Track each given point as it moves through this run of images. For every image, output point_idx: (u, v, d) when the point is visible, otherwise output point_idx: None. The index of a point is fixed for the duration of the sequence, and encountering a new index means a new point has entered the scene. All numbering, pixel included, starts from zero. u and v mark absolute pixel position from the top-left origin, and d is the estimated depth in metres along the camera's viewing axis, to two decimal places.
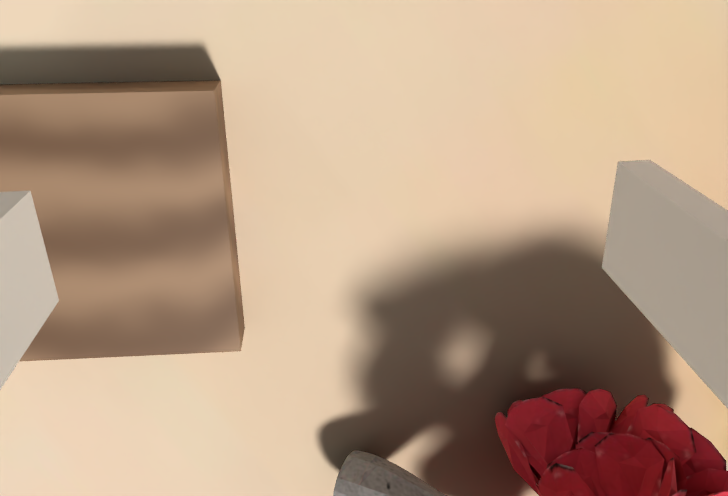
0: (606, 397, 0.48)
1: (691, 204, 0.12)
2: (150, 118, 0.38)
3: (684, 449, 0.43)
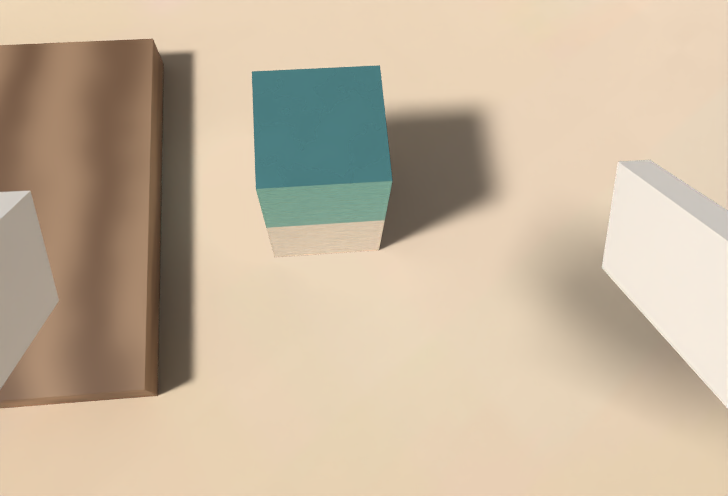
0: None
1: (691, 204, 0.12)
2: (119, 326, 0.39)
3: None
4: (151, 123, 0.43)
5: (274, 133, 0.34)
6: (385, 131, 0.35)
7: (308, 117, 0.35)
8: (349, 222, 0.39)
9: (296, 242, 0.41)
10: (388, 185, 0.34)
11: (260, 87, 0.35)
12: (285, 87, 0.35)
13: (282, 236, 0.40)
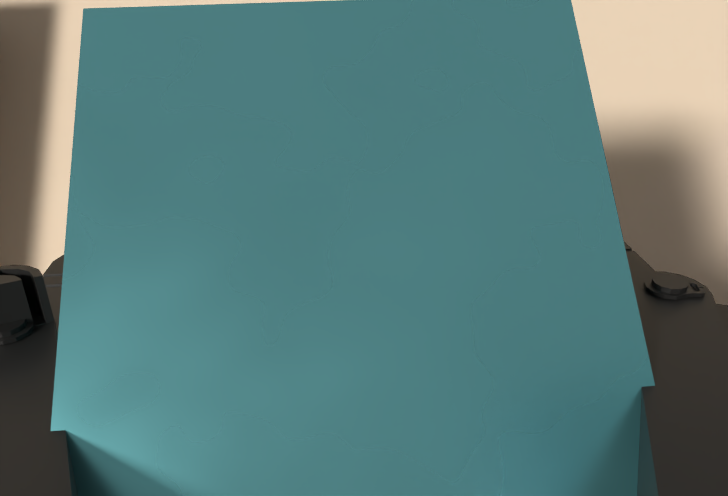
0: None
1: None
2: None
3: None
4: None
5: (152, 267, 0.08)
6: (620, 256, 0.08)
7: (300, 195, 0.08)
8: None
9: None
10: None
11: (110, 68, 0.09)
12: (210, 70, 0.09)
13: None
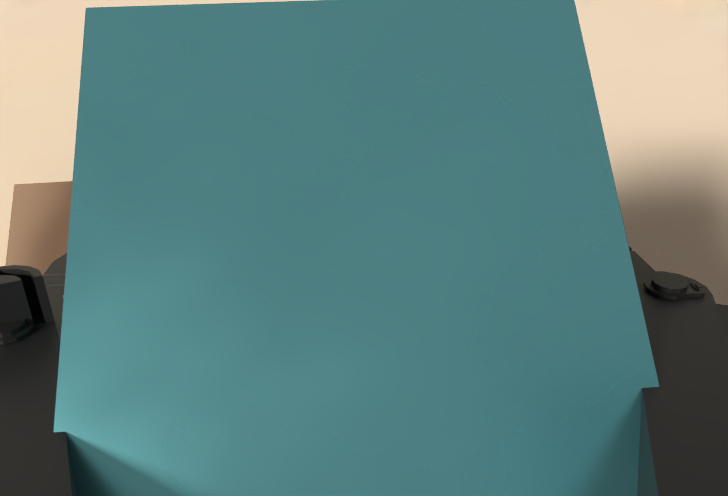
0: None
1: None
2: None
3: None
4: None
5: (155, 268, 0.08)
6: (623, 256, 0.08)
7: (303, 194, 0.08)
8: None
9: None
10: None
11: (112, 67, 0.09)
12: (213, 70, 0.09)
13: None
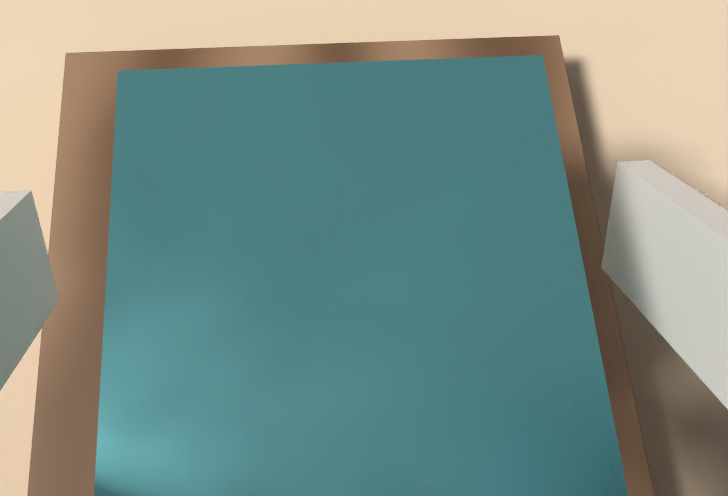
0: None
1: (690, 204, 0.12)
2: None
3: None
4: None
5: (180, 300, 0.09)
6: (582, 290, 0.10)
7: (306, 236, 0.10)
8: None
9: None
10: None
11: (142, 124, 0.10)
12: (228, 126, 0.10)
13: None
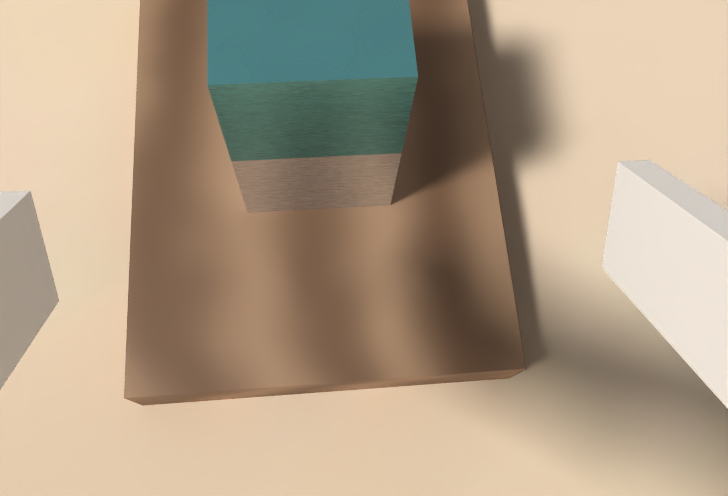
0: None
1: (691, 204, 0.12)
2: (481, 290, 0.31)
3: None
4: None
5: (238, 6, 0.23)
6: (407, 6, 0.23)
7: None
8: (351, 155, 0.27)
9: (276, 188, 0.29)
10: (411, 85, 0.23)
11: None
12: None
13: (256, 177, 0.28)
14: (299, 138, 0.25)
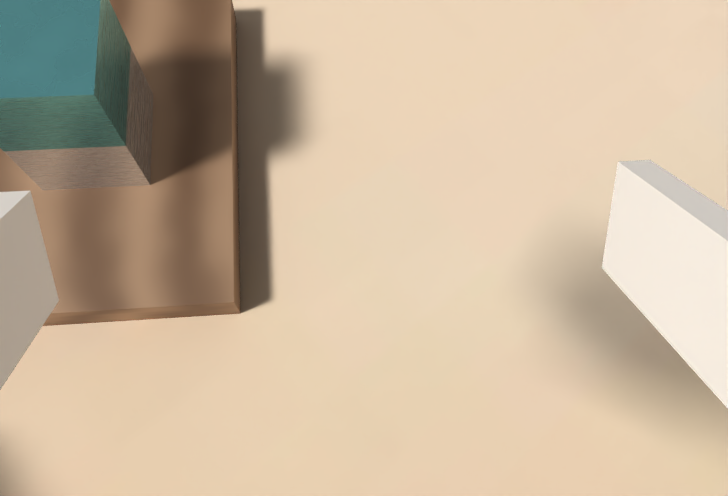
0: None
1: (691, 204, 0.12)
2: (209, 246, 0.43)
3: None
4: (231, 69, 0.47)
5: None
6: (95, 47, 0.35)
7: (18, 32, 0.35)
8: (89, 147, 0.39)
9: (51, 171, 0.41)
10: (94, 100, 0.34)
11: None
12: (0, 3, 0.35)
13: (30, 163, 0.40)
14: (42, 135, 0.37)
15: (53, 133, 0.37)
